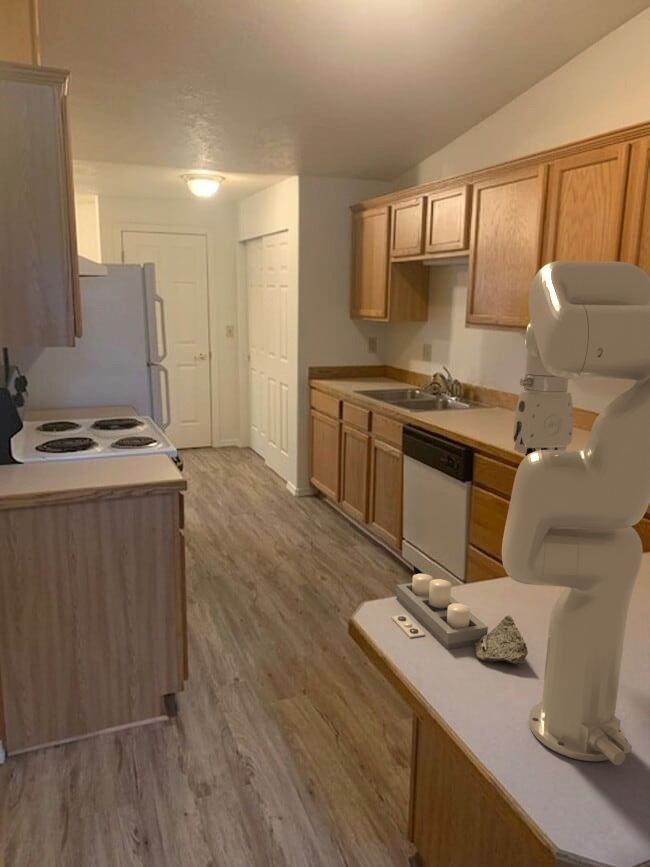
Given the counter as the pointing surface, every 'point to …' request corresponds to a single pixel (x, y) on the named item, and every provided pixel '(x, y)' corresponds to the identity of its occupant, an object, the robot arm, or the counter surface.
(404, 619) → the card
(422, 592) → the button far
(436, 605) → the button mid
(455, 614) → the button near
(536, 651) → the counter surface
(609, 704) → the robot arm
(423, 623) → the button board
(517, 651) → the rock sample
